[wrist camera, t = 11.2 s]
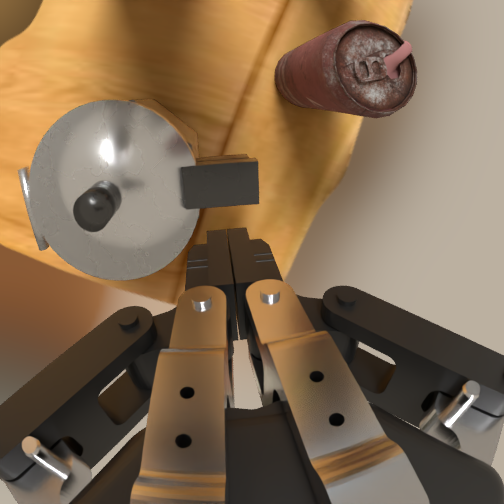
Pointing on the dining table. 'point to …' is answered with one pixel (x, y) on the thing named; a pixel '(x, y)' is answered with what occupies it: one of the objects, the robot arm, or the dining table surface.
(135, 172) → the lid
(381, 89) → the can
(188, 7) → the dining table surface
